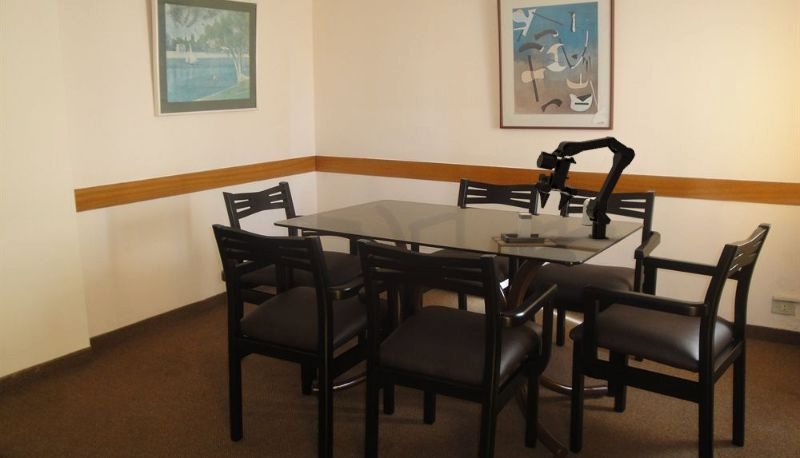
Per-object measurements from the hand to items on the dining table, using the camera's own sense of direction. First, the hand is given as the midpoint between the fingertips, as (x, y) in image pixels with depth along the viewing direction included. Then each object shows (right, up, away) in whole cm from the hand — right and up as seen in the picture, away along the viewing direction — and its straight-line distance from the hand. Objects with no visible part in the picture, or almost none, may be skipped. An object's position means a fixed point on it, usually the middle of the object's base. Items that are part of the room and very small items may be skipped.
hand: (550, 209), depth 289 cm
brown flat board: (-12, -13, -8) cm, 20 cm away
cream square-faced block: (-12, -13, -8) cm, 19 cm away
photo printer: (+26, -6, +34) cm, 43 cm away
